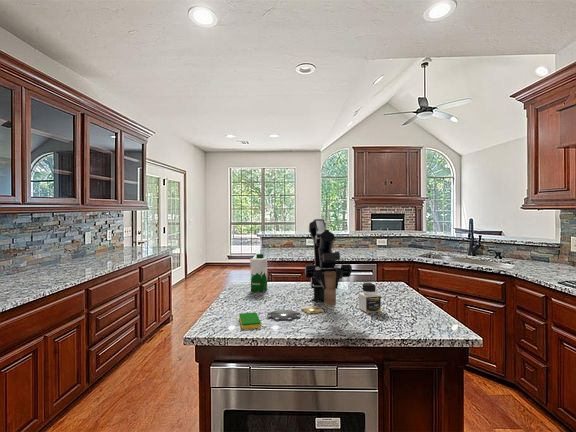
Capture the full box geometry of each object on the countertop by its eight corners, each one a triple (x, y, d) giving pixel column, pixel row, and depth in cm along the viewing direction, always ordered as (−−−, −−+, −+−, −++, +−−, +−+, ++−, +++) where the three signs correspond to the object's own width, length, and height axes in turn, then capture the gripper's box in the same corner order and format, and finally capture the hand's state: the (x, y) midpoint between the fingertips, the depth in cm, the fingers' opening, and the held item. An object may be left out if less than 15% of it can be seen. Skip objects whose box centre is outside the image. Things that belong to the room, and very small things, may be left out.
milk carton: (269, 288, 191) (268, 253, 191) (263, 292, 182) (262, 256, 182) (254, 288, 193) (254, 253, 193) (248, 291, 185) (248, 255, 185)
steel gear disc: (275, 309, 151) (275, 307, 151) (305, 312, 145) (305, 311, 145) (260, 318, 137) (260, 316, 137) (292, 323, 132) (292, 321, 132)
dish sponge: (256, 317, 140) (256, 312, 140) (261, 328, 127) (261, 322, 127) (239, 319, 139) (239, 313, 139) (242, 330, 125) (242, 324, 125)
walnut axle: (326, 302, 136) (326, 270, 136) (337, 303, 134) (337, 271, 134) (323, 305, 132) (322, 272, 132) (334, 306, 130) (333, 273, 130)
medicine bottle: (366, 313, 144) (366, 285, 144) (358, 308, 151) (358, 282, 151) (381, 311, 146) (380, 284, 146) (372, 307, 153) (372, 281, 153)
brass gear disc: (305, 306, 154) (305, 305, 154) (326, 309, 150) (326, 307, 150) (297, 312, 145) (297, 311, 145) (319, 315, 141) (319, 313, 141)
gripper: (305, 245, 136) (308, 277, 125) (350, 244, 137) (357, 276, 126) (303, 261, 144) (306, 293, 133) (346, 260, 145) (352, 292, 134)
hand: (330, 288), depth 132 cm, fingers closed on walnut axle, 4 cm apart
